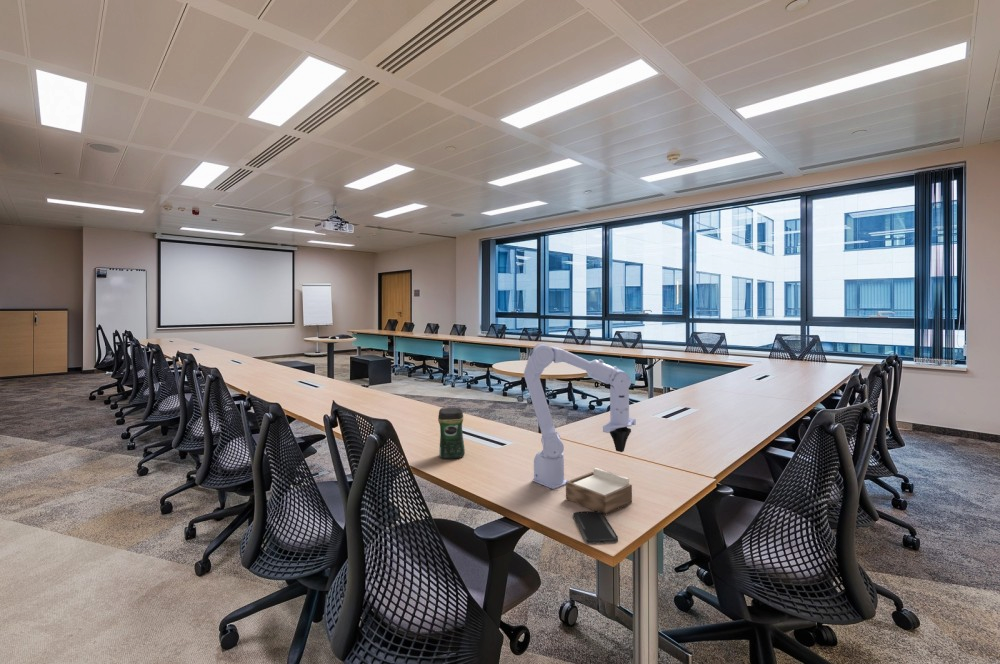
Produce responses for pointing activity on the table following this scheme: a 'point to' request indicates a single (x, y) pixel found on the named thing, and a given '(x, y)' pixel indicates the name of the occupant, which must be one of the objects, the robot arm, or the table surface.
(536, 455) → the robot arm
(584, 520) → the phone
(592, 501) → the box
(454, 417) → the coffee jar
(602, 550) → the table surface
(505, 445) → the table surface
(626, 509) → the table surface
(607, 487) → the lid
